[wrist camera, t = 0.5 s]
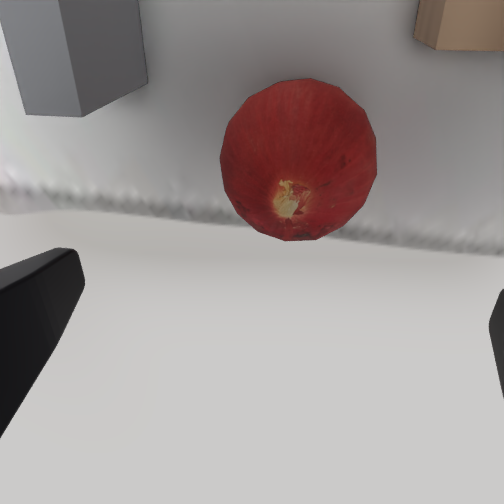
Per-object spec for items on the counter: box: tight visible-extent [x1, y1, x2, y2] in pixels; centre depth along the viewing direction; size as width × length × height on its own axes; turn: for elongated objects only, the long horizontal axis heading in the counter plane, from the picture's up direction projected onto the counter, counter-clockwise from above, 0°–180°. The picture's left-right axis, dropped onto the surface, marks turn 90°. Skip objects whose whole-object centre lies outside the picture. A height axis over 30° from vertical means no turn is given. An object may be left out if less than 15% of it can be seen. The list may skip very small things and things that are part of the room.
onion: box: [220, 78, 377, 241], centre depth 16 cm, size 6×6×8 cm
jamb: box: [0, 0, 148, 117], centre depth 15 cm, size 2×6×6 cm, turn 0°
